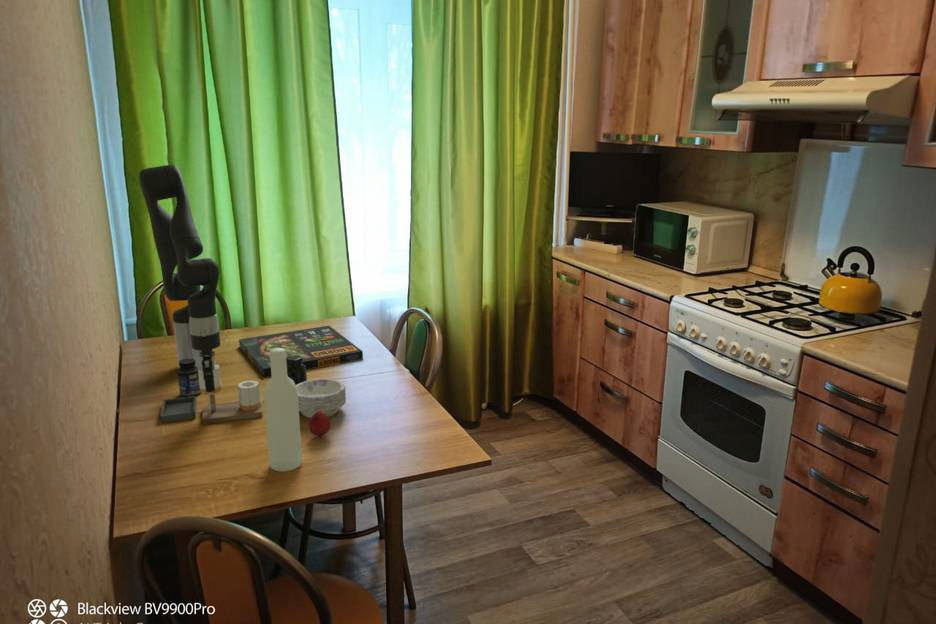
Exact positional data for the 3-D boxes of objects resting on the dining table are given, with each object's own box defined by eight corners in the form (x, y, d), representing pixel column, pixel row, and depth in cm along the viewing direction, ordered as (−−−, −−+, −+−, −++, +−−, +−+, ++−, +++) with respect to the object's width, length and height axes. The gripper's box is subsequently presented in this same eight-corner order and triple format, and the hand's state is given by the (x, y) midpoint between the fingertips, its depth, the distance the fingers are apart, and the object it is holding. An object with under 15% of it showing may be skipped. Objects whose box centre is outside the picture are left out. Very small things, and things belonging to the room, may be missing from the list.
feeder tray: (164, 406, 196) (163, 399, 195) (196, 402, 199) (196, 395, 198) (161, 422, 185) (160, 416, 185) (195, 418, 188) (194, 412, 188)
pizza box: (329, 334, 265) (329, 325, 264) (362, 360, 236) (362, 351, 235) (239, 348, 248) (238, 339, 247) (264, 378, 219) (263, 368, 218)
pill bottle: (193, 399, 201) (189, 365, 198) (175, 397, 202) (171, 363, 199) (205, 391, 207) (201, 358, 204) (187, 389, 208) (183, 356, 205)
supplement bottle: (312, 393, 206) (310, 357, 203) (293, 400, 201) (290, 363, 198) (299, 387, 210) (297, 352, 207) (281, 393, 206) (278, 357, 202)
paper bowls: (327, 397, 203) (326, 373, 201) (356, 412, 193) (355, 387, 191) (283, 411, 193) (281, 386, 191) (311, 428, 183) (309, 402, 180)
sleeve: (200, 388, 189) (198, 365, 187) (221, 385, 191) (218, 362, 189) (200, 395, 184) (197, 371, 182) (221, 392, 186) (218, 369, 184)
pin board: (203, 410, 193) (201, 389, 191) (260, 403, 199) (258, 383, 197) (202, 424, 184) (200, 403, 182) (262, 416, 190) (260, 395, 188)
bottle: (305, 456, 168) (298, 344, 159) (299, 472, 160) (290, 355, 152) (273, 456, 167) (264, 344, 159) (265, 472, 160) (255, 355, 151)
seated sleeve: (237, 406, 193) (235, 383, 191) (255, 401, 196) (253, 379, 194) (245, 412, 189) (243, 389, 187) (263, 406, 192) (261, 384, 191)
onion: (320, 444, 174) (318, 416, 172) (304, 438, 177) (303, 411, 175) (335, 435, 179) (334, 408, 177) (320, 430, 182) (318, 403, 179)
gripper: (191, 324, 188) (197, 380, 192) (188, 339, 175) (195, 398, 179) (219, 322, 190) (224, 377, 195) (218, 336, 177) (224, 395, 182)
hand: (210, 387), depth 187 cm, fingers closed on sleeve, 5 cm apart
